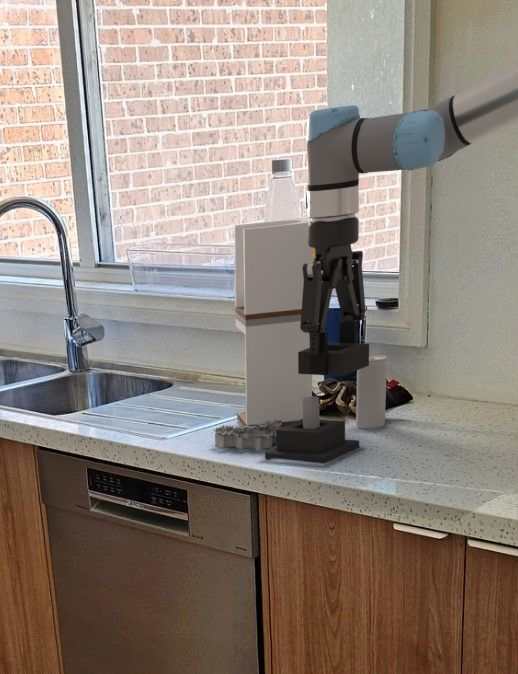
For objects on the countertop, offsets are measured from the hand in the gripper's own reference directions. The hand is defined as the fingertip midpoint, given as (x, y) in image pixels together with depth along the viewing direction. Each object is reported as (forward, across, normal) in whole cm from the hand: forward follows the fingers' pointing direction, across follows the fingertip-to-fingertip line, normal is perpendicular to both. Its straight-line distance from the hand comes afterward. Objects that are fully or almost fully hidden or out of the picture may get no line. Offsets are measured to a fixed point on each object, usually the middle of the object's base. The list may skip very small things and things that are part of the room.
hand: (333, 368), depth 195 cm
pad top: (0, 0, 0) cm, 0 cm away
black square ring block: (+12, +2, -3) cm, 13 cm away
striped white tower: (+14, -12, -20) cm, 27 cm away
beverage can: (+14, -17, -3) cm, 22 cm away
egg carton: (+14, +1, -17) cm, 22 cm away
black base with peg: (+14, +2, -3) cm, 14 cm away
